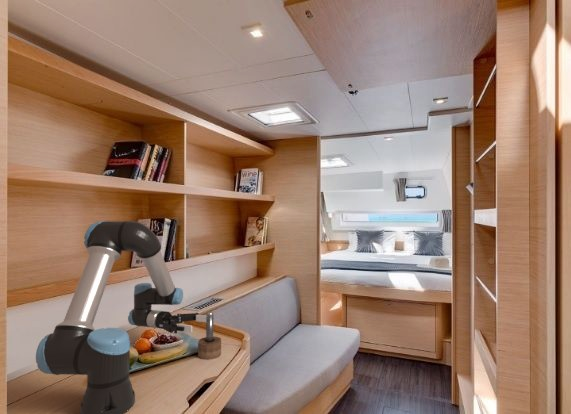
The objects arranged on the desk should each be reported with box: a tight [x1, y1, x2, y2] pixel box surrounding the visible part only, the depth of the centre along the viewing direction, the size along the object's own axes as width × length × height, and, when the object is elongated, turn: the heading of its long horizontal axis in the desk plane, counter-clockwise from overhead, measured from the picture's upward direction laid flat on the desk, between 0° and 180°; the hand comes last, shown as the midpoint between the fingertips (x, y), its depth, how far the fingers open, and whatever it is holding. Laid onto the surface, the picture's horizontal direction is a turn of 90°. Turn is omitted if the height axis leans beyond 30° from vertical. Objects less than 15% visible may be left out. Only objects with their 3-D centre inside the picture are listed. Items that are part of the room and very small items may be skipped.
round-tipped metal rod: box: [205, 310, 214, 343], centre depth 139 cm, size 3×3×18 cm
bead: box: [197, 335, 222, 361], centre depth 139 cm, size 10×10×6 cm
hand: (200, 323), depth 141 cm, fingers open, 13 cm apart
